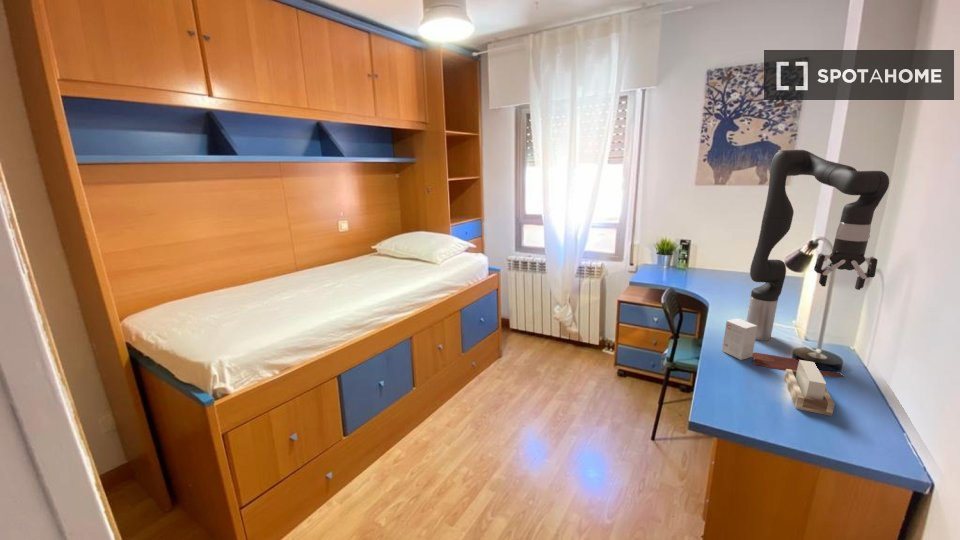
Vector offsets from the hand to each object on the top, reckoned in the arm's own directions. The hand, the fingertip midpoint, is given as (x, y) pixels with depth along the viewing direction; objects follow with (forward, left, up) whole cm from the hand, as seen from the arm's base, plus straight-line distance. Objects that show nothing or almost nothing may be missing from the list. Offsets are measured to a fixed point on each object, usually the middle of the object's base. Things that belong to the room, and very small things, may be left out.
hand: (839, 287), depth 128 cm
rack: (+14, -6, -33) cm, 36 cm away
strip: (+14, -6, -32) cm, 35 cm away
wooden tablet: (-7, -5, -34) cm, 35 cm away
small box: (-9, -23, -33) cm, 41 cm away
